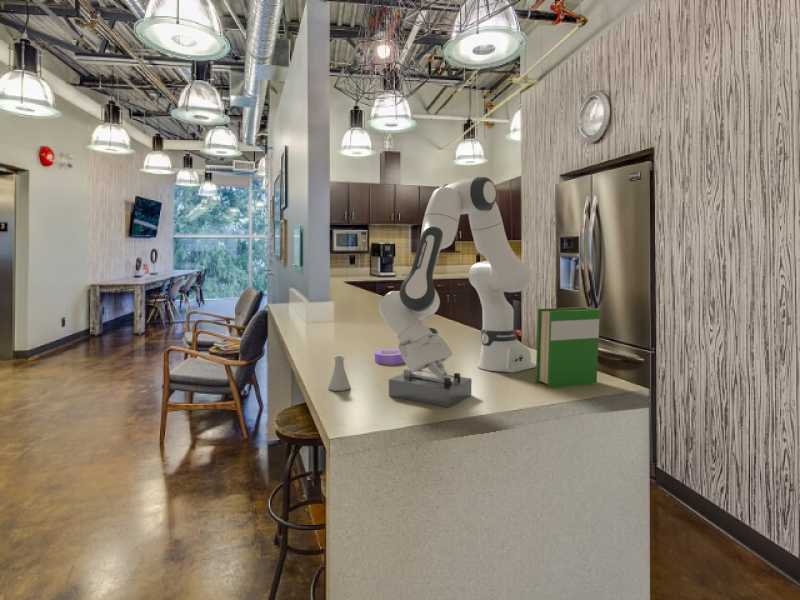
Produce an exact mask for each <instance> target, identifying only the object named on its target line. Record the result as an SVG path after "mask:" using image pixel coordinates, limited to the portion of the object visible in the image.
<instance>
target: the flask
mask: <svg viewBox="0 0 800 600" xmlns="http://www.w3.org/2000/svg"><path fill="white" fill-rule="evenodd" d="M333 357H334V368H333V371H332V374H331V377H330V380H329V384H328V388H327V389H328V390H329V391H334V392H340V391H343V392H344V391H347V390H350V389H351V383H350V381H349V379H348V375H347V373H346V372H347V371H346V370H345V365H344V359H345V356H344V355H336V356H335V355H334V356H333Z"/></svg>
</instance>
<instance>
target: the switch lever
mask: <svg viewBox="0 0 800 600" xmlns="http://www.w3.org/2000/svg"><path fill="white" fill-rule="evenodd" d="M422 371H423V370H422ZM422 371H416V372H412V371H411V376H413V377H418V378H423V379H427V380H432V381H437V382H442V383H444V378H445V377H447V376H444V377H442V378H438V377H437V375H436V374H432V373H427V372H428V371H427V372H422ZM448 378H451V384H453V383H455V382H457V381H458V379H457V378H452V377H448Z"/></svg>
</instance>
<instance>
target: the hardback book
mask: <svg viewBox="0 0 800 600" xmlns="http://www.w3.org/2000/svg"><path fill="white" fill-rule="evenodd" d="M600 311H601V310H600V309H596V308H591V307H586V306H585V307H583V306H580V307H578V306H577V307H559V308H558V307H557V308H556V307H555V308H554V307H552V308H537V326H536V327H537V328H536V329H537V330H536V331H537V332H536V334H537V335H536V339H537V340H536V360H535V361H536V362H535V363H536V367H535V383H538V384H539V383H544V384H546V385H547V388H548V389H552V388H553V389H554V388H563V387H564V386H566V387H573V385H576V386H584V385H583V384H587V385H593V384H592V383H598V382H597V379H598V361H599V359H598V358H599V356H598V355H599V338H600V337H599V334H600V313H601V312H600Z"/></svg>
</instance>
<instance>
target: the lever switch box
mask: <svg viewBox="0 0 800 600" xmlns="http://www.w3.org/2000/svg"><path fill="white" fill-rule="evenodd" d="M419 371H422V372H427V373H432V374H434V373H433V372H432V371H428V370H427V371H426V370H423V369H422V370H419ZM446 376H447V377H445V378H444V383H442V382H437V381H432V380H427V379H423V378H418V377H413V376H411V370H409V368H408V369H407V368H405V369H404V370H403V373H401V374H398V375H396V376H393V377H391V378H388V396H389V397H394V398H397V399H398V398H399V399H403V400H409V401H414V402H419V403H423V404H428V405H433V406H439V407H443V408H448V409H450V408H451V407H453V406H456V405H457V404H458V403H461V402H462V401H465V400H466V399H467V398H469V397H471V396H472V378H471V377H464V376H461V373H460V372H454V374H453V375H451V374H447V375H446ZM448 377H452V378H457V379H458V381H457V382H455V383H453V384H451V378H448Z"/></svg>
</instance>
